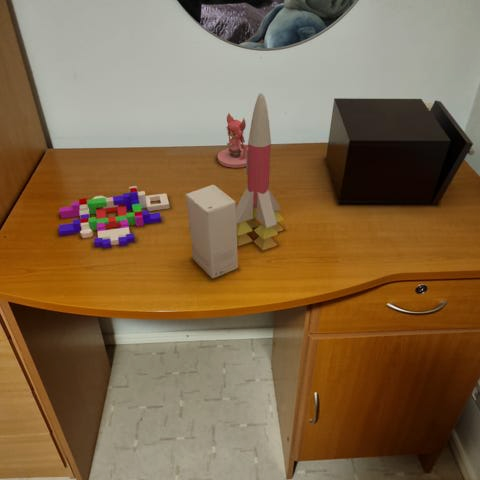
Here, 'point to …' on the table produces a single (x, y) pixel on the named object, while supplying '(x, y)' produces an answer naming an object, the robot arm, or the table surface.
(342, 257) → the table surface
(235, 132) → the toy figure
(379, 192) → the oven
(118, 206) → the building block set
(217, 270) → the cosmetic box
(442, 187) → the oven door
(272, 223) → the toy rocket
